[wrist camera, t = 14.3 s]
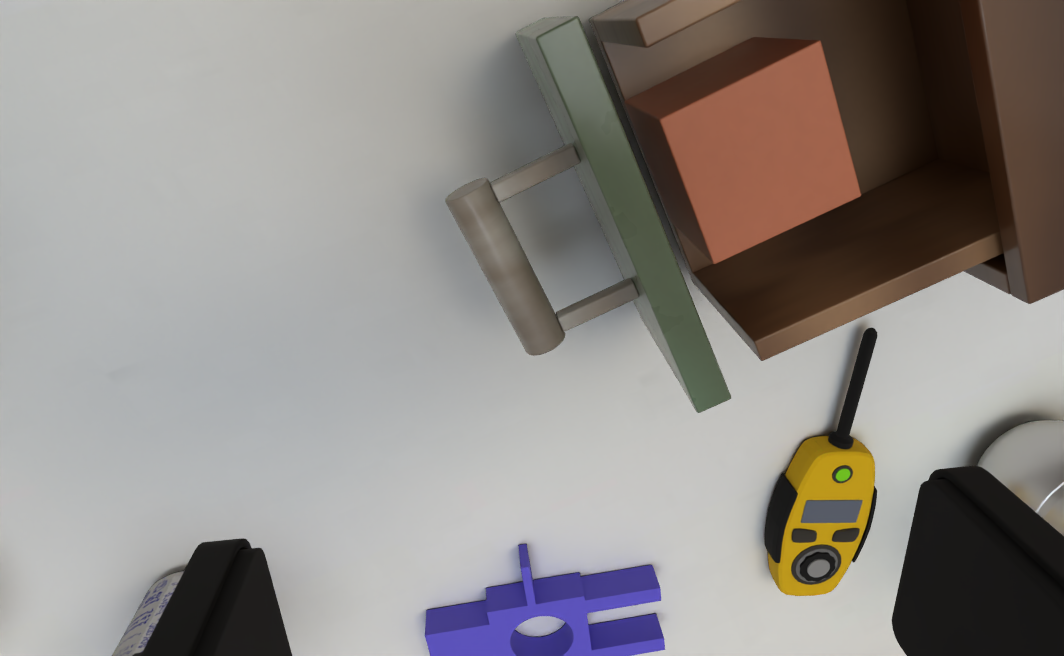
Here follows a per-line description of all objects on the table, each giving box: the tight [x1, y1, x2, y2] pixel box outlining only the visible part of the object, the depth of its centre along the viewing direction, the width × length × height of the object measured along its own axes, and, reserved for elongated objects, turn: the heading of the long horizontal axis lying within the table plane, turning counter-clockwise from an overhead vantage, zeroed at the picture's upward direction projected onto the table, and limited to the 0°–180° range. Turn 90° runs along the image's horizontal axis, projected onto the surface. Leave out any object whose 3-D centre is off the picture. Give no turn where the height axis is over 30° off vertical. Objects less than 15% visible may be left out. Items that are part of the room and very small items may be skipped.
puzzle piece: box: [425, 544, 665, 656], centre depth 36 cm, size 10×12×2 cm
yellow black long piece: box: [765, 328, 877, 596], centre depth 34 cm, size 5×2×15 cm
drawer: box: [445, 0, 1004, 413], centre depth 23 cm, size 18×12×8 cm
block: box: [624, 37, 861, 264], centre depth 23 cm, size 5×5×5 cm
